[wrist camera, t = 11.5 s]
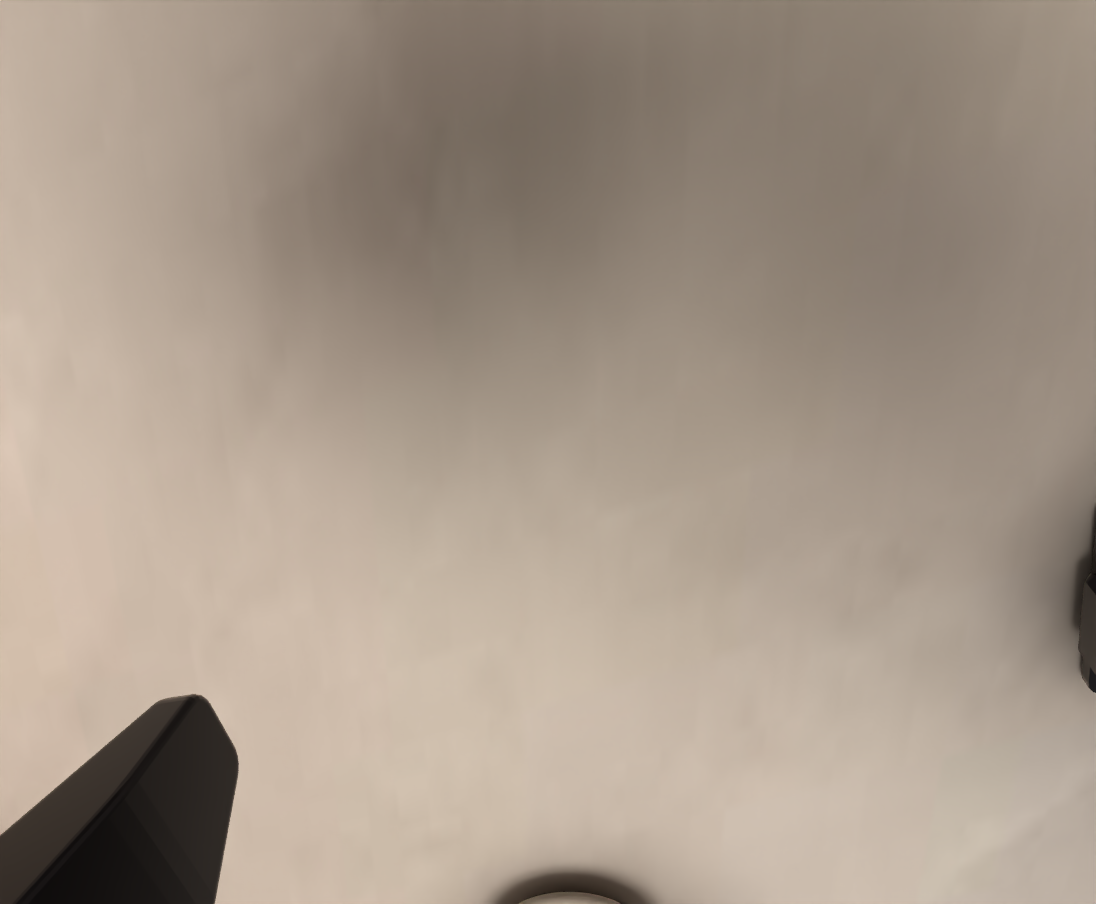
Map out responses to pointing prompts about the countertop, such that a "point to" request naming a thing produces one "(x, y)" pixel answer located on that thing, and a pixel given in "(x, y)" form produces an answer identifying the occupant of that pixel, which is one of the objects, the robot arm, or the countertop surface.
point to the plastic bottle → (569, 899)
